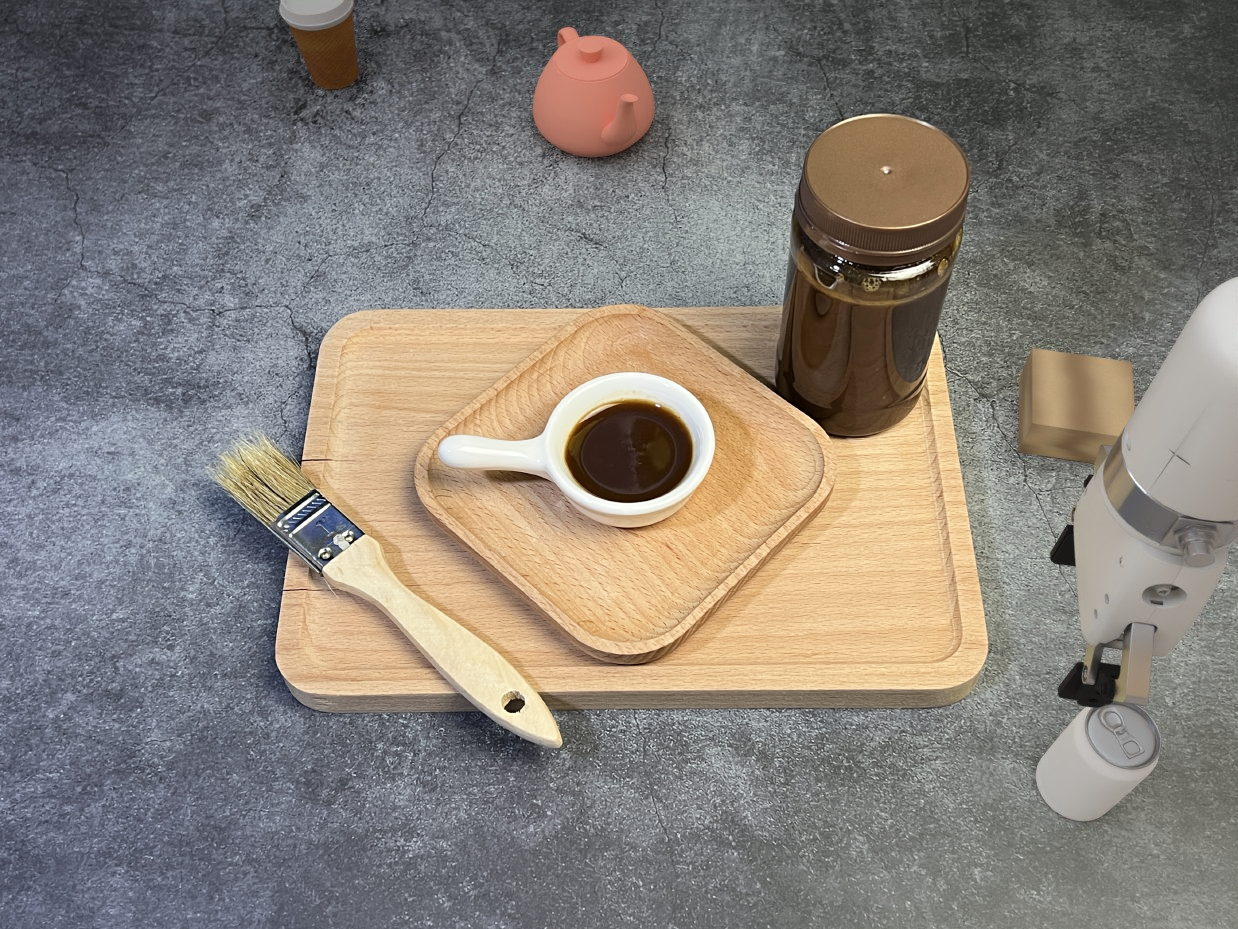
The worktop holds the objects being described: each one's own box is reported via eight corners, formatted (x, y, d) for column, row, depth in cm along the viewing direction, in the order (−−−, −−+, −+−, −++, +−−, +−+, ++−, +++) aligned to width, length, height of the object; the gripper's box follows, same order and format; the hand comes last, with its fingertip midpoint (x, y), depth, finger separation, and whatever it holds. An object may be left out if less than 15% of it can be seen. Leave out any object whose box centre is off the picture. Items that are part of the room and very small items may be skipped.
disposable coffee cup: (287, 87, 150) (262, 7, 140) (324, 48, 155) (302, -33, 145) (347, 104, 147) (326, 23, 138) (383, 63, 152) (365, -18, 142)
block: (1115, 392, 117) (1132, 361, 113) (1119, 467, 112) (1137, 439, 108) (1018, 377, 119) (1032, 347, 114) (1018, 452, 113) (1032, 423, 109)
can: (1081, 736, 96) (1131, 680, 86) (1128, 805, 92) (1186, 755, 82) (1018, 765, 95) (1062, 711, 85) (1063, 835, 91) (1114, 788, 81)
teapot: (690, 164, 139) (693, 80, 129) (577, 202, 136) (571, 118, 125) (616, 68, 151) (613, -17, 140) (510, 101, 147) (500, 16, 137)
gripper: (1288, 640, 52) (1151, 765, 66) (1235, 360, 61) (1126, 522, 75) (1122, 618, 53) (1022, 746, 67) (1096, 345, 62) (1014, 507, 76)
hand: (1077, 627), depth 71 cm, fingers open, 9 cm apart
